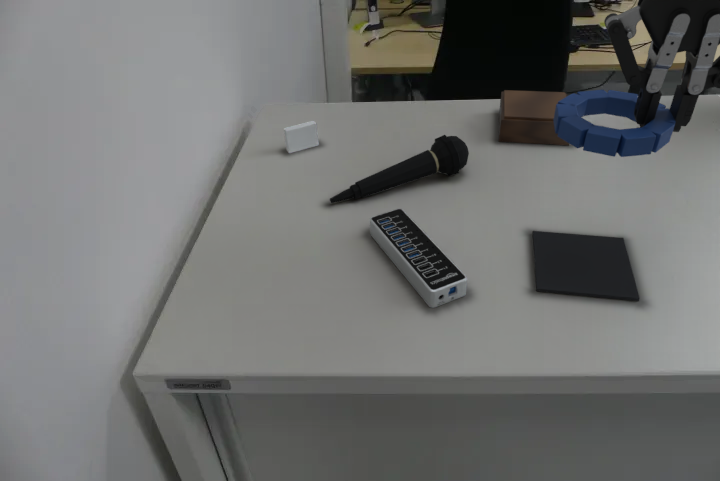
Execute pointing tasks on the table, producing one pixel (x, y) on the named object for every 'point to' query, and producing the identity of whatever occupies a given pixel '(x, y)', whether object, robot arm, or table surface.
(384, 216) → the multiport hub
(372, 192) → the microphone
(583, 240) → the mat
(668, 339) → the table surface
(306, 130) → the eraser
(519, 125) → the platform
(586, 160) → the table surface
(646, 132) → the ring
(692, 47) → the robot arm
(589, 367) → the table surface
